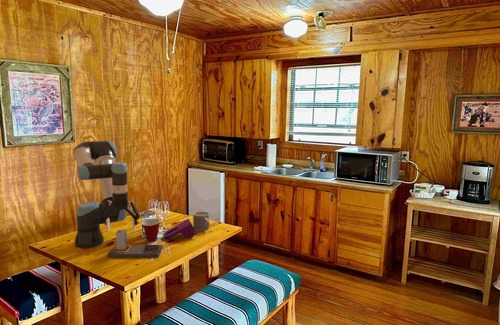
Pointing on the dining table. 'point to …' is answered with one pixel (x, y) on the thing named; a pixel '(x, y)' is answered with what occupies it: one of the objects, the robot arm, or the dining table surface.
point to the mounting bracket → (181, 230)
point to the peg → (121, 240)
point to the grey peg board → (137, 251)
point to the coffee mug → (201, 221)
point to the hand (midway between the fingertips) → (121, 230)
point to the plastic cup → (151, 229)
